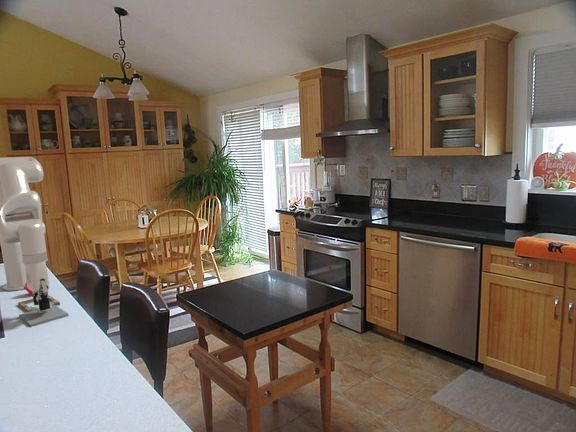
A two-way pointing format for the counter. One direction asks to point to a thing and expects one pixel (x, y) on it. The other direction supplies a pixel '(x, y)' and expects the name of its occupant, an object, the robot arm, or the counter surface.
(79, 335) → the counter surface
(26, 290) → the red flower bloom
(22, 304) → the pocket frame
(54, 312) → the slate mat
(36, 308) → the pacifier
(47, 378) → the counter surface
